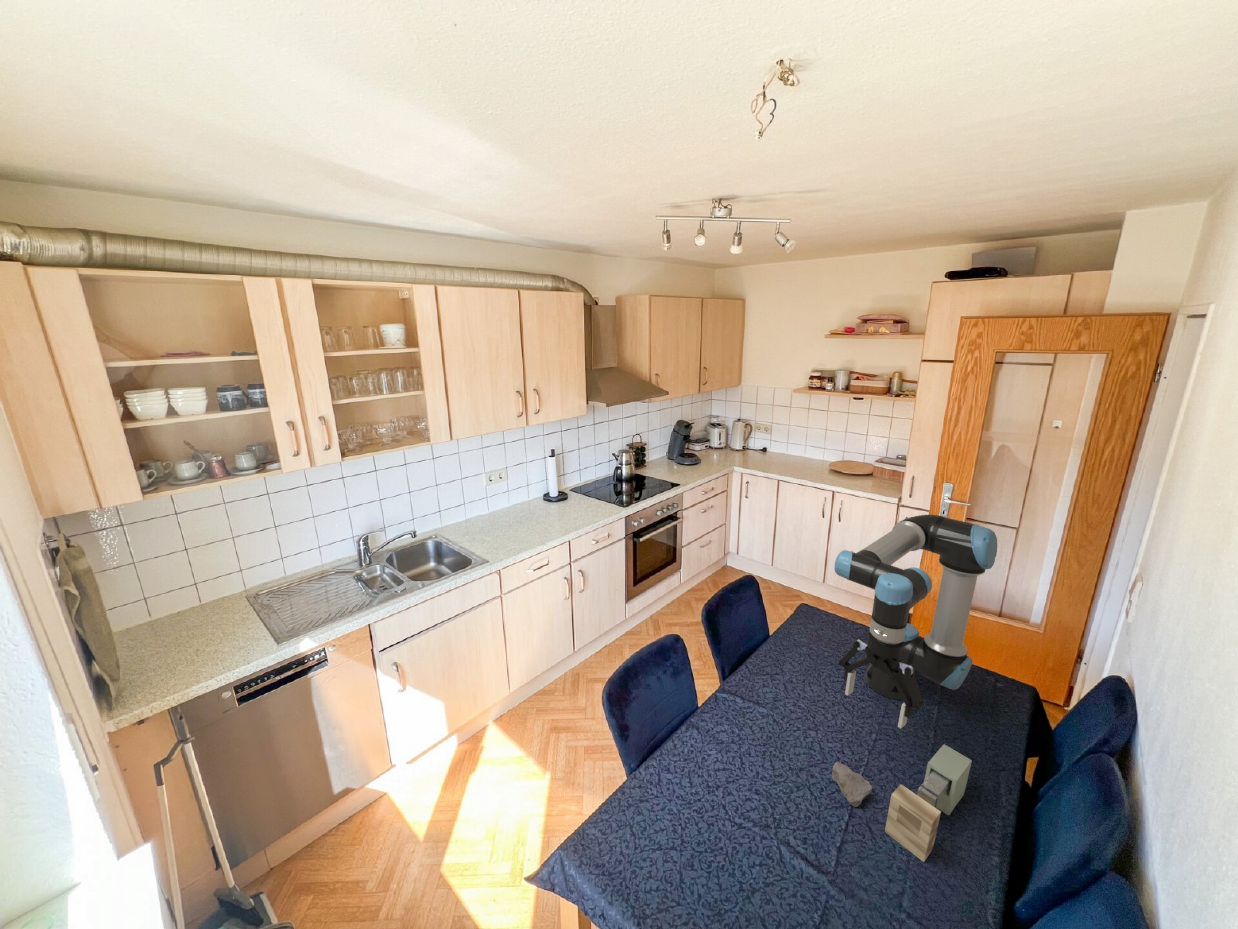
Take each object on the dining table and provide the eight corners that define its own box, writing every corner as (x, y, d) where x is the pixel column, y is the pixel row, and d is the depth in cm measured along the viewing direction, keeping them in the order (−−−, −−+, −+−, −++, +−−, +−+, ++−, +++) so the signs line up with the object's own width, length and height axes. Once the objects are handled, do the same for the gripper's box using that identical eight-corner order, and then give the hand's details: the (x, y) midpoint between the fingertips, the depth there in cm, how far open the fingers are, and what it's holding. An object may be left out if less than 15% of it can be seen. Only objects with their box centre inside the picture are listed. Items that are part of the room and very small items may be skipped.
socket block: (893, 820, 124) (900, 784, 120) (932, 849, 117) (941, 811, 113) (884, 831, 121) (891, 794, 118) (923, 862, 114) (932, 823, 111)
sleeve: (936, 777, 136) (943, 744, 133) (964, 794, 130) (971, 760, 127) (920, 796, 130) (927, 762, 127) (948, 816, 125) (956, 781, 122)
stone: (855, 814, 125) (857, 795, 124) (822, 785, 134) (824, 767, 132) (874, 798, 129) (876, 781, 128) (840, 771, 138) (842, 754, 136)
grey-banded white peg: (945, 763, 133) (947, 752, 132) (961, 774, 130) (964, 762, 129) (915, 800, 122) (917, 788, 121) (932, 812, 119) (935, 800, 118)
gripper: (830, 617, 127) (821, 686, 132) (935, 669, 107) (919, 748, 112) (846, 608, 131) (837, 675, 136) (949, 657, 111) (934, 733, 117)
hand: (874, 708), depth 124 cm, fingers open, 13 cm apart
